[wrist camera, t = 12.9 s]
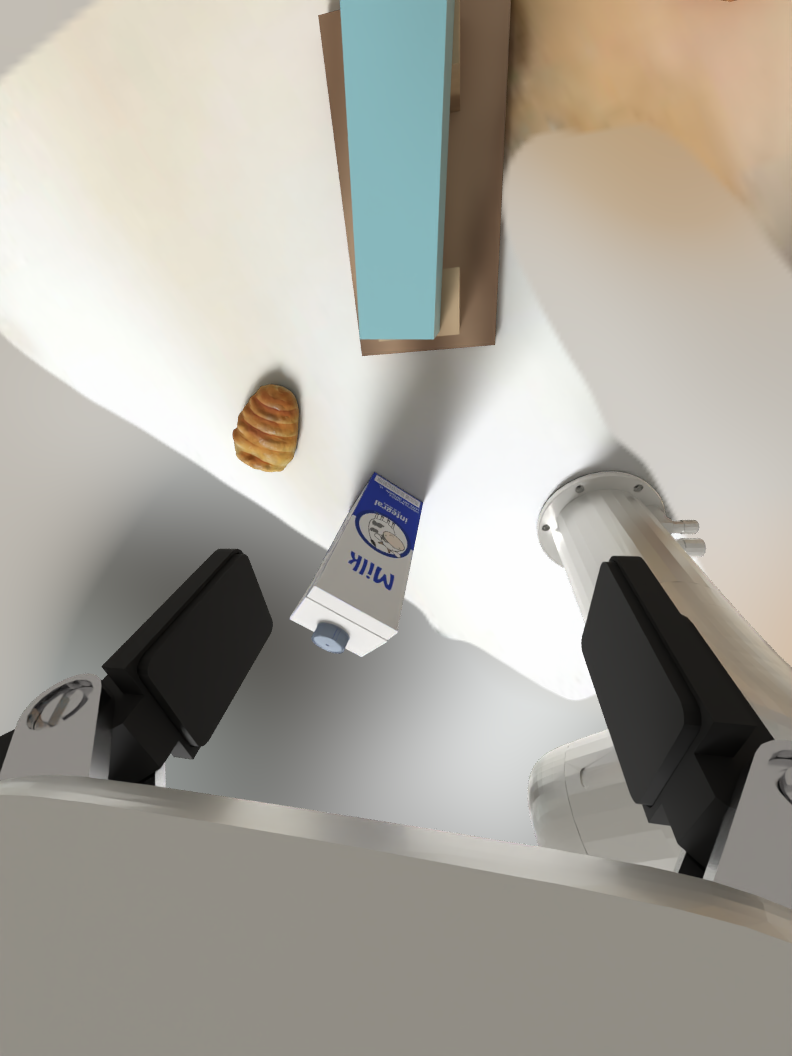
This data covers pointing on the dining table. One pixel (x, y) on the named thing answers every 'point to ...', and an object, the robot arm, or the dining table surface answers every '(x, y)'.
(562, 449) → the dining table surface
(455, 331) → the display stand
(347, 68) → the pale blue rectangular prism
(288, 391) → the pastry
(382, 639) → the milk carton
